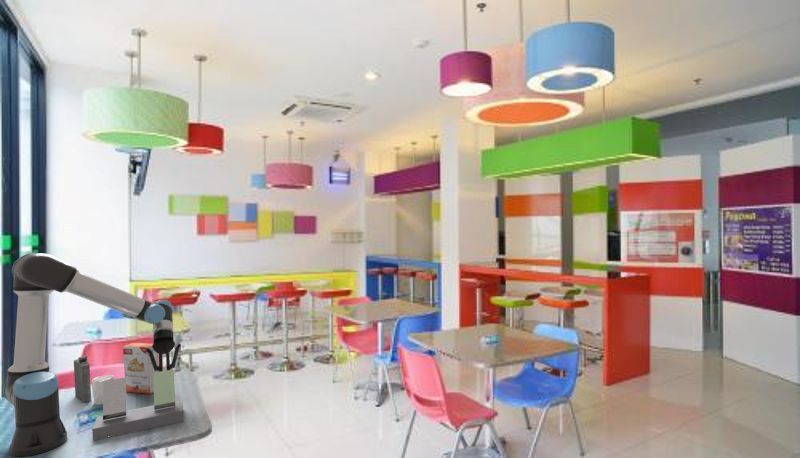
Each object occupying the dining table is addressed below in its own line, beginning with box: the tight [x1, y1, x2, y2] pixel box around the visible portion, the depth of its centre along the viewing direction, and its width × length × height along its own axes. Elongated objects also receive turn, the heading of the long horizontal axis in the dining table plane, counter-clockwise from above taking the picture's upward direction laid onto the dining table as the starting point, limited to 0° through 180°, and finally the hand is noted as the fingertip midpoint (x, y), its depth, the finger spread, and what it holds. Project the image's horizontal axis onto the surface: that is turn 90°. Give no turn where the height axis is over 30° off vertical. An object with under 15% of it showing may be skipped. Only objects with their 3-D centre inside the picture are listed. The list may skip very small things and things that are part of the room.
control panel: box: [91, 399, 185, 441], centre depth 165 cm, size 12×28×4 cm, turn 117°
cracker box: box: [122, 342, 159, 395], centre depth 200 cm, size 14×6×21 cm, turn 73°
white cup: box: [91, 374, 115, 406], centre depth 189 cm, size 8×8×10 cm
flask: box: [73, 355, 92, 404], centre depth 195 cm, size 4×14×18 cm, turn 49°
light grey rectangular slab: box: [102, 376, 127, 420], centre depth 163 cm, size 2×7×13 cm, turn 116°
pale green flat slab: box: [153, 368, 176, 410], centre depth 171 cm, size 2×7×13 cm, turn 116°
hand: (165, 384), depth 175 cm, fingers closed
